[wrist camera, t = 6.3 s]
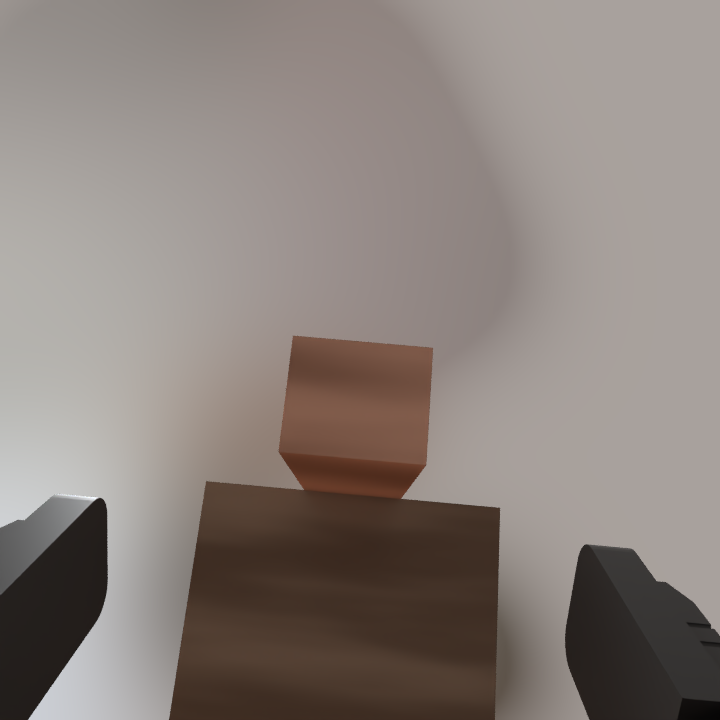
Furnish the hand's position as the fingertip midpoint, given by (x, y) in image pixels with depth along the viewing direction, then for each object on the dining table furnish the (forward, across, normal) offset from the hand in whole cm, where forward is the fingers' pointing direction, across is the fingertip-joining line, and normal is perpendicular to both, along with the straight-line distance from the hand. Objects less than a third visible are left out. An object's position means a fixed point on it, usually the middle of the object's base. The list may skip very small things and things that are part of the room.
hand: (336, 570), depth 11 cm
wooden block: (+15, 0, +6) cm, 17 cm away
